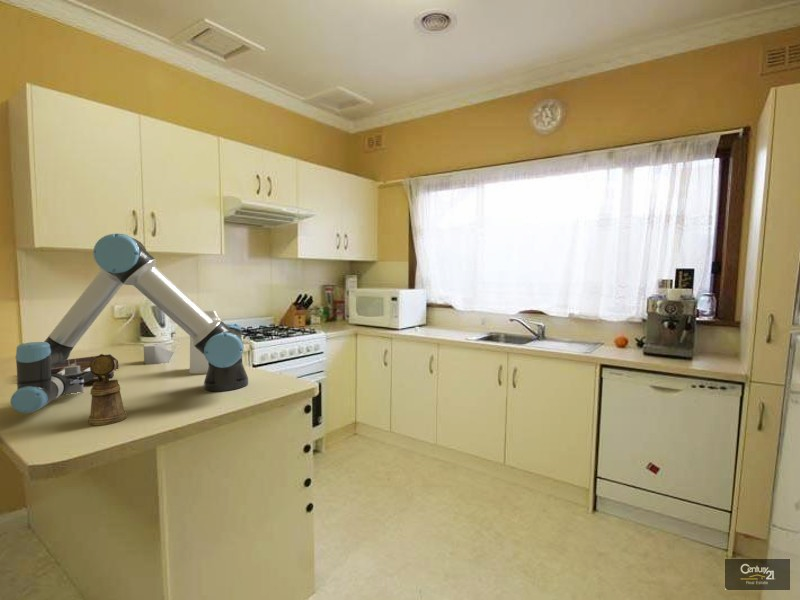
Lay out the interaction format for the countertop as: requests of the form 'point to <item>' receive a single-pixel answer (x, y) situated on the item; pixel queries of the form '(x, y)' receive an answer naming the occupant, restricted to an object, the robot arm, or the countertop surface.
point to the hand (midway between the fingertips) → (78, 372)
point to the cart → (87, 365)
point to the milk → (199, 353)
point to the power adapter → (73, 371)
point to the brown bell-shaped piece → (105, 394)
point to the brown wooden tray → (71, 361)
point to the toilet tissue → (156, 353)
